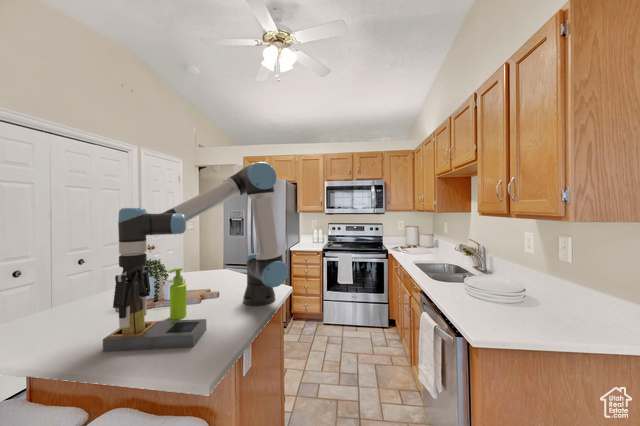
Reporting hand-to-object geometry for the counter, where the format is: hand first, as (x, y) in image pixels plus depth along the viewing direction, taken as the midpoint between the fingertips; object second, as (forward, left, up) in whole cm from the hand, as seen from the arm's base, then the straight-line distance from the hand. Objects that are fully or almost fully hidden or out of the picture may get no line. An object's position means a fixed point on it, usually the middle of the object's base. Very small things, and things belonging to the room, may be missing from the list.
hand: (133, 320), depth 86 cm
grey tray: (-8, 0, -7) cm, 11 cm away
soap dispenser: (-5, -19, -7) cm, 21 cm away
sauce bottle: (0, 0, -7) cm, 7 cm away
